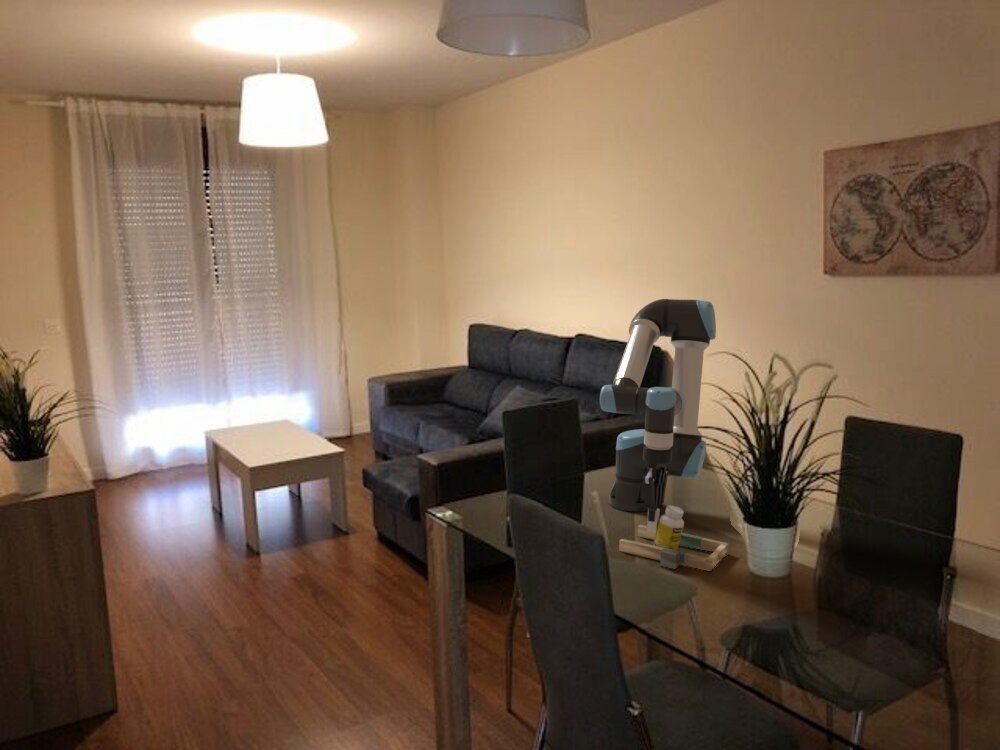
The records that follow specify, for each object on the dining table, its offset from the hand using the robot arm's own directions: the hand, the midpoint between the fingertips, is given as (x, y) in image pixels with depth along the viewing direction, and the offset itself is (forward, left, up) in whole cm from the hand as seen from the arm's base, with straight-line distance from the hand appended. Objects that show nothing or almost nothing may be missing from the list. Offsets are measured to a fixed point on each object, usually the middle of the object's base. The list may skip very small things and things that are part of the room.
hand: (652, 531), depth 219 cm
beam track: (+1, +6, -5) cm, 8 cm away
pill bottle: (0, +3, -4) cm, 6 cm away
